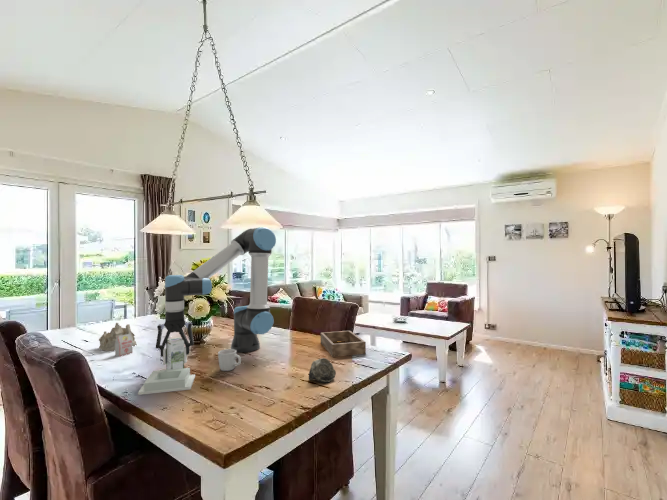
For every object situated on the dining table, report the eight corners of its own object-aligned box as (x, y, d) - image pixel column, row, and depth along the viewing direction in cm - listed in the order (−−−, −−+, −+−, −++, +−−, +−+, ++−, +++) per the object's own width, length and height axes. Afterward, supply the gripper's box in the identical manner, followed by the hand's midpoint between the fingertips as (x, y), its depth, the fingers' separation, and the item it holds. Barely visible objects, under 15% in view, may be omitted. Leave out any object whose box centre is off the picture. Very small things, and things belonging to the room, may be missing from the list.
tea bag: (115, 355, 178) (115, 336, 178) (128, 352, 184) (128, 333, 184) (119, 356, 177) (119, 336, 177) (132, 353, 183) (132, 333, 183)
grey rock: (140, 345, 198) (138, 318, 198) (109, 353, 184) (107, 325, 184) (126, 343, 206) (123, 317, 206) (95, 351, 192) (92, 324, 192)
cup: (245, 368, 157) (245, 350, 157) (235, 373, 149) (235, 355, 149) (225, 365, 160) (225, 348, 160) (214, 371, 153) (214, 353, 153)
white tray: (195, 376, 146) (195, 367, 146) (190, 389, 133) (190, 378, 133) (147, 381, 142) (147, 371, 142) (138, 394, 128) (138, 384, 128)
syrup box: (179, 369, 156) (179, 336, 156) (184, 372, 152) (184, 339, 152) (166, 372, 152) (165, 339, 152) (171, 375, 148) (170, 341, 148)
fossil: (326, 385, 134) (315, 360, 136) (309, 392, 138) (299, 368, 141) (340, 375, 143) (330, 352, 145) (324, 382, 148) (314, 360, 150)
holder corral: (349, 340, 202) (349, 330, 202) (365, 353, 176) (365, 341, 176) (320, 343, 197) (320, 332, 197) (332, 356, 172) (332, 344, 172)
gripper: (200, 308, 158) (201, 358, 158) (151, 310, 153) (151, 362, 153) (198, 310, 151) (199, 363, 151) (146, 313, 146) (147, 368, 146)
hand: (175, 362), depth 152 cm, fingers closed on syrup box, 8 cm apart
